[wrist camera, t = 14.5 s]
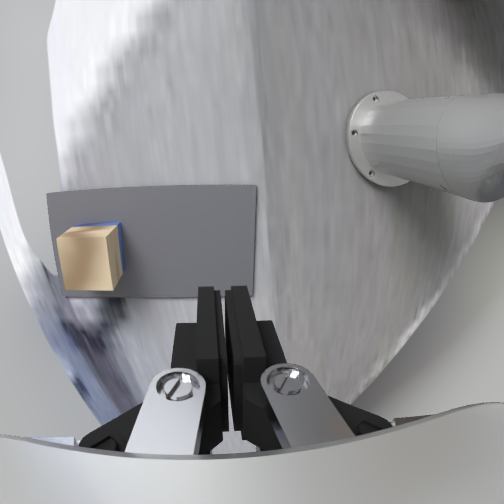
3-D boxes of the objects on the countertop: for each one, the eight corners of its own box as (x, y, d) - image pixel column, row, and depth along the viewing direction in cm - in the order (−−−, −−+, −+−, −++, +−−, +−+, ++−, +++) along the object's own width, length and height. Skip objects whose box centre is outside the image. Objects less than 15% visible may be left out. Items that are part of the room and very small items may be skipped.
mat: (255, 185, 37) (256, 185, 36) (252, 293, 41) (252, 295, 41) (48, 193, 33) (46, 193, 33) (63, 294, 38) (62, 296, 37)
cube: (56, 238, 29) (76, 223, 35) (65, 289, 31) (82, 269, 37) (105, 236, 30) (120, 221, 35) (113, 290, 32) (125, 268, 37)
